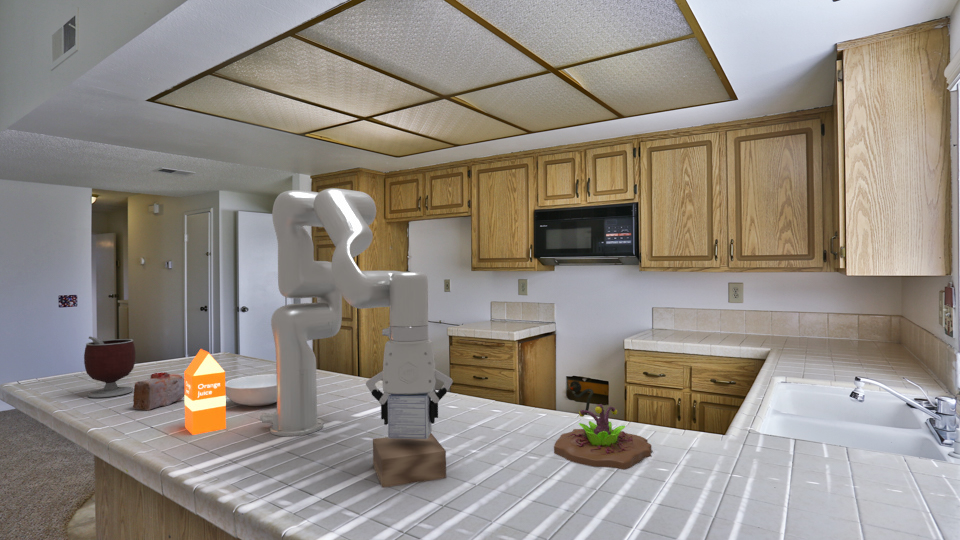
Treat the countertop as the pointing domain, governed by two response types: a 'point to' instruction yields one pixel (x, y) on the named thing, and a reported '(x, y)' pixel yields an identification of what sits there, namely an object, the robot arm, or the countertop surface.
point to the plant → (602, 443)
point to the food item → (158, 391)
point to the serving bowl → (252, 390)
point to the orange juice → (204, 395)
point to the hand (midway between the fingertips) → (410, 421)
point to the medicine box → (409, 416)
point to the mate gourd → (109, 364)
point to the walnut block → (408, 460)
